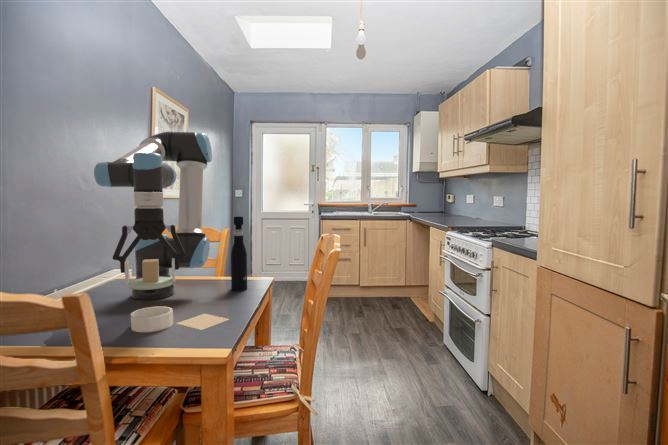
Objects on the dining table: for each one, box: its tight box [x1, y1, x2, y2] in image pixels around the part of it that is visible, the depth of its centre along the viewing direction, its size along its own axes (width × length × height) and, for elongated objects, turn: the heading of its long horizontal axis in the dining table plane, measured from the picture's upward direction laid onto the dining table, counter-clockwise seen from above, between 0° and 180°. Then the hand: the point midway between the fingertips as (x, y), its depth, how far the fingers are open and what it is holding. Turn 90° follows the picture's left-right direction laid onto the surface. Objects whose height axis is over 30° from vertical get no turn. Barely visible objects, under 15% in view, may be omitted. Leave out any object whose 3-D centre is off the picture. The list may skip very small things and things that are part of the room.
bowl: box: [130, 305, 174, 333], centre depth 114 cm, size 11×11×5 cm
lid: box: [128, 259, 174, 290], centre depth 113 cm, size 12×12×7 cm
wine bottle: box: [230, 216, 248, 292], centre depth 160 cm, size 6×6×30 cm
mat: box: [175, 313, 230, 331], centre depth 118 cm, size 11×11×1 cm
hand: (151, 282), depth 113 cm, fingers closed on lid, 11 cm apart
